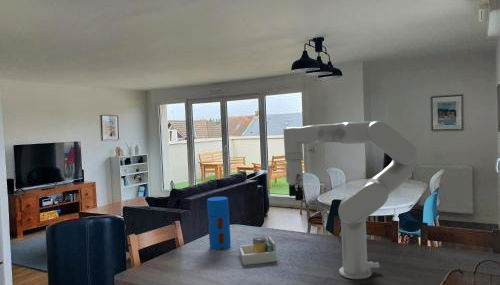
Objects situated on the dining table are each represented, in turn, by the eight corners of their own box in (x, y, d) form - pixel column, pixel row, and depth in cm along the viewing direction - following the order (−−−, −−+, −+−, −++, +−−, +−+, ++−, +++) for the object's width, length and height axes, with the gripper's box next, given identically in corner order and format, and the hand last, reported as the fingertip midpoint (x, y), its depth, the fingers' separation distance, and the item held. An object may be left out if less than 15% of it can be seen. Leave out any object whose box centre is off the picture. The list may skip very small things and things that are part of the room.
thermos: (211, 251, 192) (208, 201, 190) (208, 245, 202) (205, 198, 201) (233, 248, 194) (230, 199, 193) (228, 242, 205) (225, 195, 204)
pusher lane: (270, 251, 187) (269, 235, 186) (276, 261, 173) (275, 244, 173) (239, 254, 185) (238, 238, 184) (243, 265, 171) (242, 247, 170)
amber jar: (265, 253, 182) (264, 236, 182) (268, 257, 176) (267, 240, 176) (252, 254, 182) (251, 237, 181) (254, 258, 175) (253, 241, 175)
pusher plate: (267, 250, 185) (266, 239, 185) (271, 258, 174) (271, 245, 174) (264, 250, 185) (263, 239, 185) (269, 258, 174) (268, 246, 174)
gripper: (280, 156, 167) (282, 195, 168) (290, 159, 150) (292, 202, 151) (297, 154, 168) (299, 193, 169) (309, 157, 151) (311, 201, 152)
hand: (296, 198), depth 160 cm, fingers open, 9 cm apart
